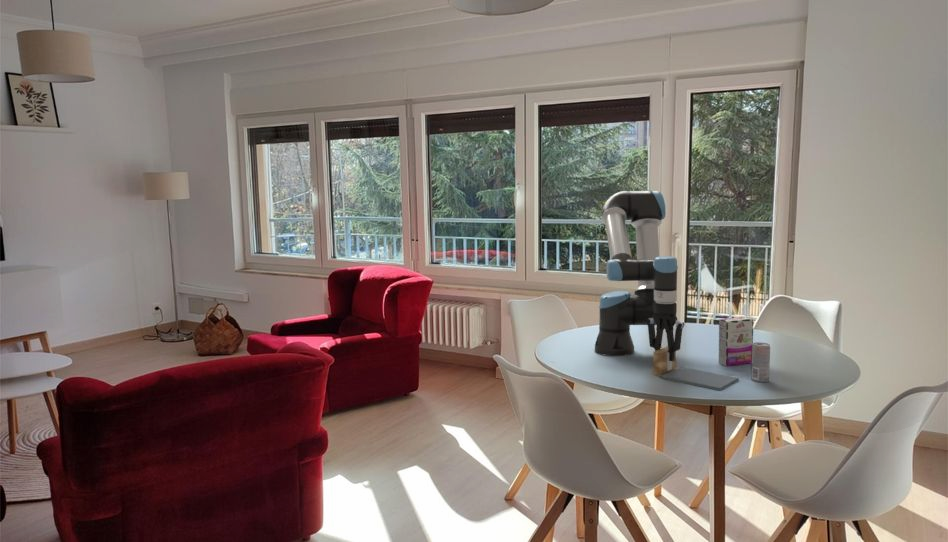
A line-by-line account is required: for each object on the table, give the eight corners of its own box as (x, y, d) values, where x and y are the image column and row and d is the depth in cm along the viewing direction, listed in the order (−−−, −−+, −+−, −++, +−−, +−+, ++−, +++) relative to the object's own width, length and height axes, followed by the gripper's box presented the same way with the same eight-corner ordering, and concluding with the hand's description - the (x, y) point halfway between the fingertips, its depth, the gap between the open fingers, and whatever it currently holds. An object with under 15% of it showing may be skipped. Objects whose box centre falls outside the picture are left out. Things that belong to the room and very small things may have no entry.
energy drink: (764, 377, 208) (765, 342, 206) (772, 382, 202) (773, 346, 201) (748, 377, 208) (749, 342, 206) (755, 382, 202) (757, 346, 201)
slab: (653, 374, 214) (653, 351, 213) (667, 368, 221) (667, 346, 220) (661, 376, 211) (661, 353, 210) (675, 369, 218) (675, 347, 217)
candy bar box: (743, 360, 228) (745, 316, 226) (753, 363, 224) (754, 318, 222) (717, 363, 226) (718, 318, 223) (726, 366, 221) (727, 321, 219)
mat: (661, 378, 209) (661, 375, 209) (681, 369, 219) (681, 366, 219) (720, 390, 195) (720, 388, 195) (738, 380, 205) (738, 377, 205)
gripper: (638, 301, 216) (638, 367, 219) (681, 306, 205) (680, 375, 208) (649, 298, 221) (649, 362, 224) (692, 302, 210) (691, 370, 213)
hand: (664, 368), depth 216 cm, fingers closed on slab, 3 cm apart
